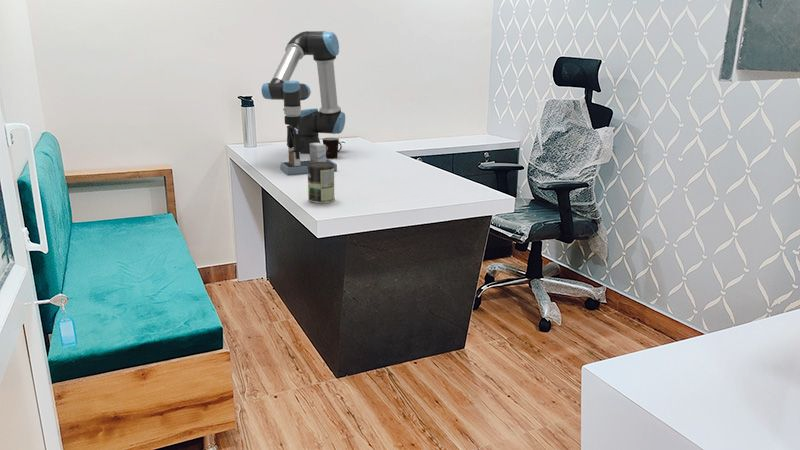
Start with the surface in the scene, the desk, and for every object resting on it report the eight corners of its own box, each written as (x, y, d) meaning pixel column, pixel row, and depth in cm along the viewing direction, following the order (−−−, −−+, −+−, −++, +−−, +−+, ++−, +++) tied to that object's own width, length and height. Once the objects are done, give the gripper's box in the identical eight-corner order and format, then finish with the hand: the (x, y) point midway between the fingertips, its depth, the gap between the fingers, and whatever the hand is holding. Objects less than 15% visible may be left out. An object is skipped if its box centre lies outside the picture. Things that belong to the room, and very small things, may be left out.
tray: (280, 169, 284) (280, 162, 283) (328, 166, 294) (328, 159, 292) (287, 175, 272) (287, 167, 271) (336, 171, 282) (336, 164, 281)
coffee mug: (320, 156, 317) (320, 138, 314) (336, 155, 320) (336, 137, 317) (327, 160, 307) (326, 141, 304) (343, 159, 310) (342, 140, 307)
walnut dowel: (288, 169, 281) (287, 150, 279) (298, 169, 283) (297, 150, 281) (290, 171, 277) (290, 152, 274) (301, 171, 279) (300, 152, 276)
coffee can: (307, 203, 226) (306, 167, 222) (309, 196, 236) (308, 161, 231) (334, 203, 227) (334, 167, 222) (335, 196, 236) (334, 161, 232)
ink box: (327, 169, 283) (326, 144, 279) (317, 170, 280) (316, 145, 277) (319, 166, 290) (318, 142, 286) (309, 167, 287) (308, 143, 283)
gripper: (279, 113, 281) (281, 159, 287) (290, 118, 262) (292, 168, 268) (294, 112, 284) (296, 158, 290) (307, 118, 264) (308, 167, 271)
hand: (294, 163), depth 279 cm, fingers open, 9 cm apart
